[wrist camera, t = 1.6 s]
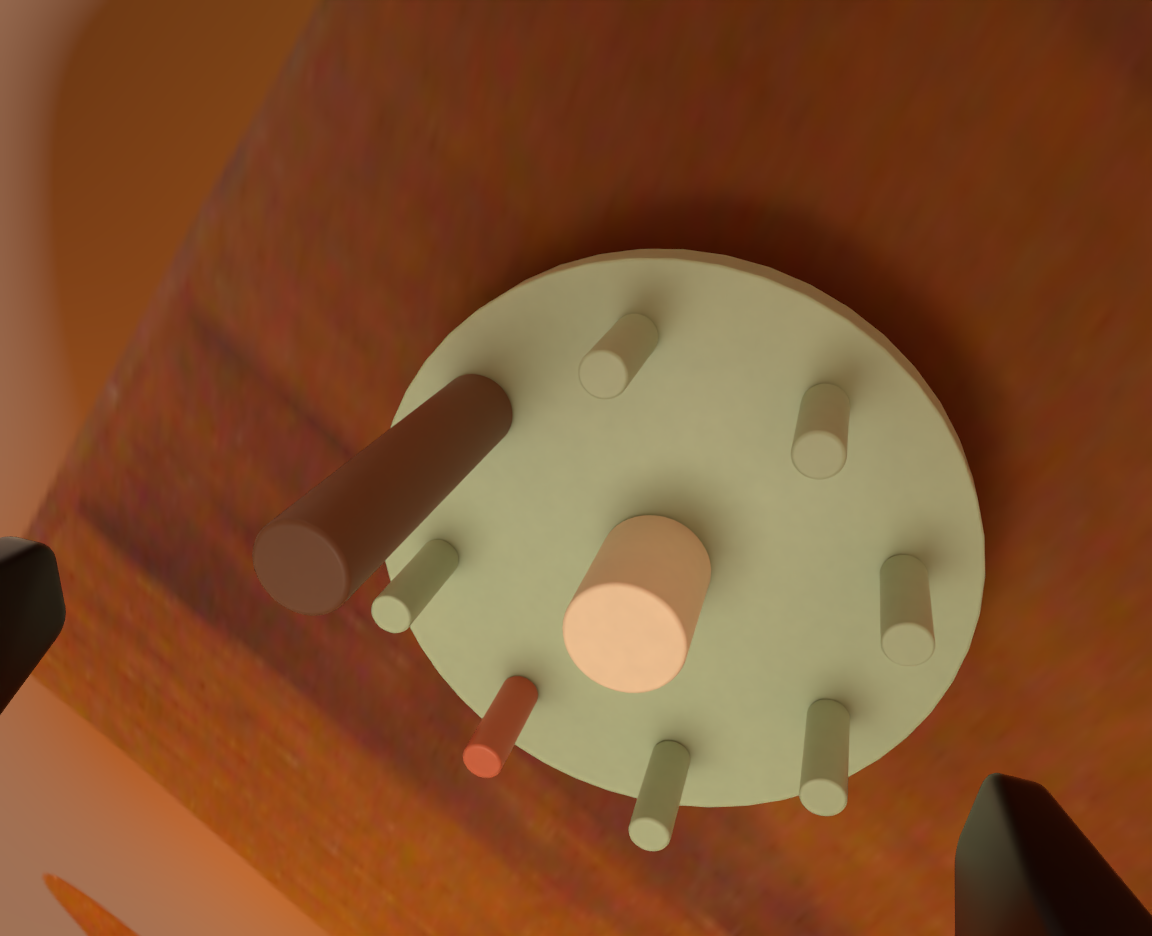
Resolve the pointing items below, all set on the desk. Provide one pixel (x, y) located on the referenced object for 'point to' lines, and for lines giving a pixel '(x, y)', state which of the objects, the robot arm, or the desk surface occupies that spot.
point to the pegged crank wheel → (663, 533)
